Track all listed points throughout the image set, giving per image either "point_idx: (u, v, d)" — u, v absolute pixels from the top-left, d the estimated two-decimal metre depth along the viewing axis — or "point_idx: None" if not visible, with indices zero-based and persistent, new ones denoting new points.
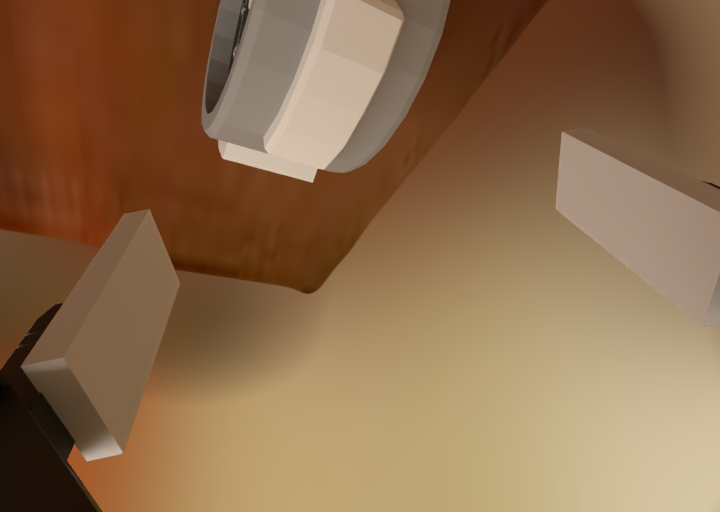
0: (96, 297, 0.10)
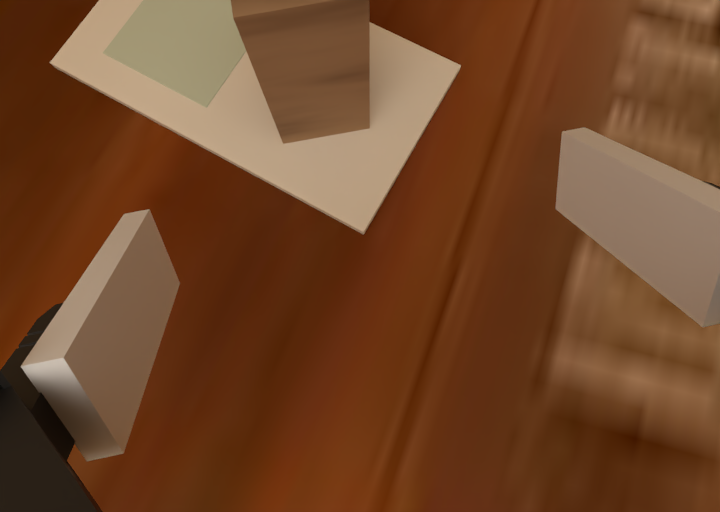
0: (96, 297, 0.10)
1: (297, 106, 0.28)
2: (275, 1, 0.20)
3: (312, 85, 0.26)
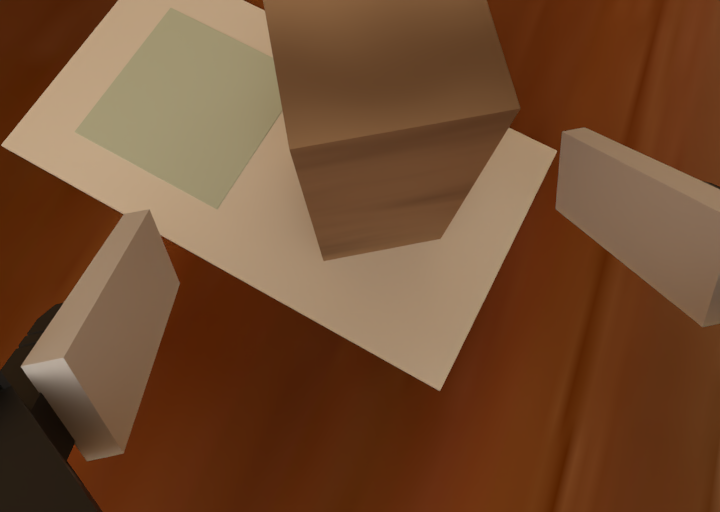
0: (96, 297, 0.10)
1: (355, 229, 0.19)
2: (361, 121, 0.12)
3: (385, 209, 0.18)
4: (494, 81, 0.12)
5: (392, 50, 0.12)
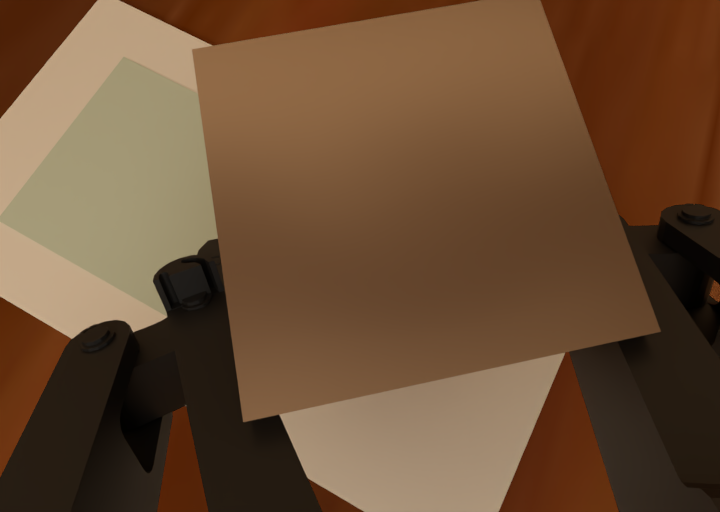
0: None
1: None
2: (375, 361, 0.07)
3: None
4: (610, 277, 0.07)
5: (426, 219, 0.07)
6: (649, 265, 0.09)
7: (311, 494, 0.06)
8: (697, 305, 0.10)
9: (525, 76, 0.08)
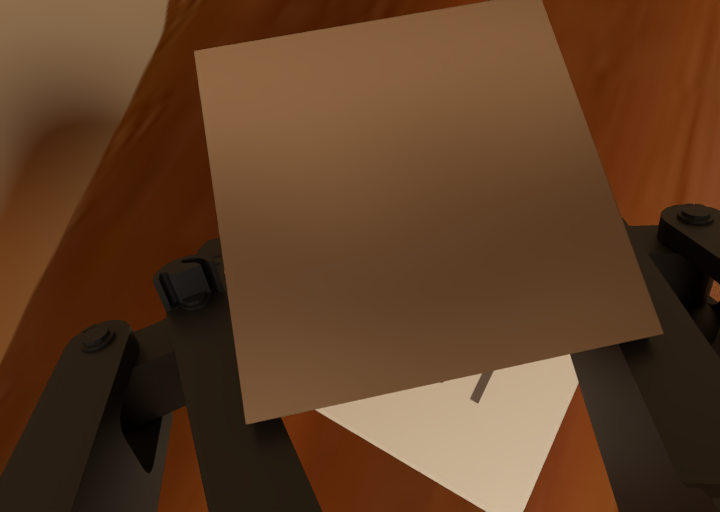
0: None
1: None
2: (377, 362, 0.07)
3: None
4: (612, 279, 0.07)
5: (429, 222, 0.07)
6: (649, 265, 0.09)
7: (311, 494, 0.06)
8: (697, 305, 0.10)
9: (528, 78, 0.08)
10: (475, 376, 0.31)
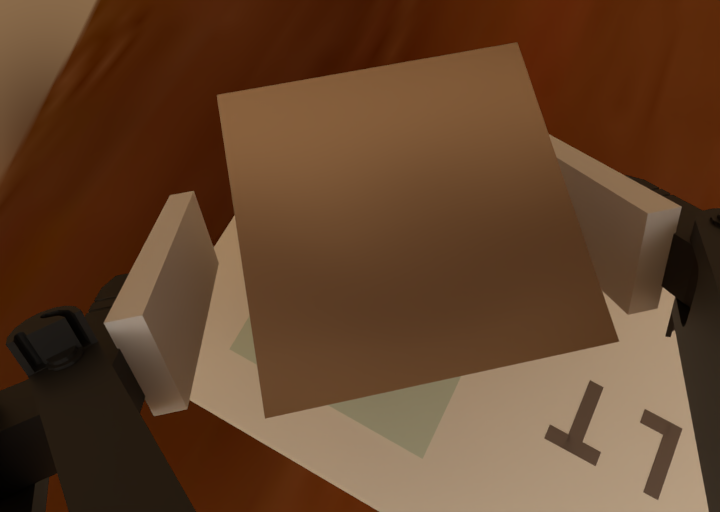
0: (161, 265, 0.11)
1: None
2: (376, 366, 0.08)
3: None
4: (576, 295, 0.08)
5: (420, 245, 0.08)
6: None
7: None
8: None
9: (506, 119, 0.09)
10: (648, 453, 0.19)
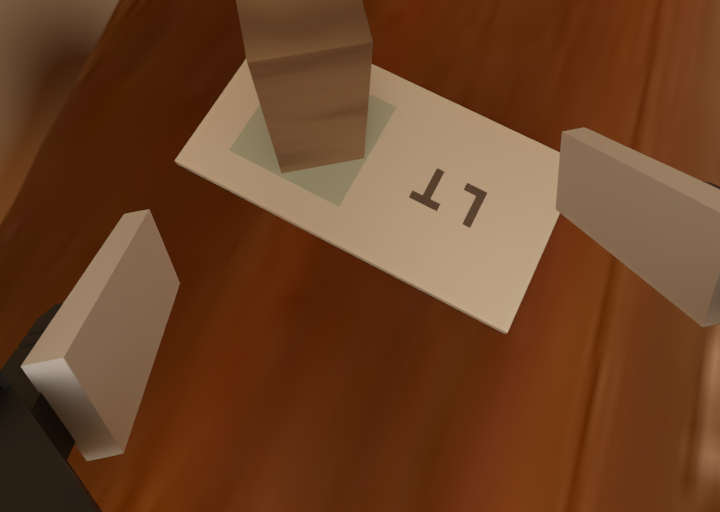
0: (96, 297, 0.10)
1: (298, 139, 0.29)
2: (286, 48, 0.22)
3: (314, 120, 0.28)
4: (360, 27, 0.22)
5: (304, 11, 0.23)
6: None
7: None
8: None
9: None
10: (467, 204, 0.33)
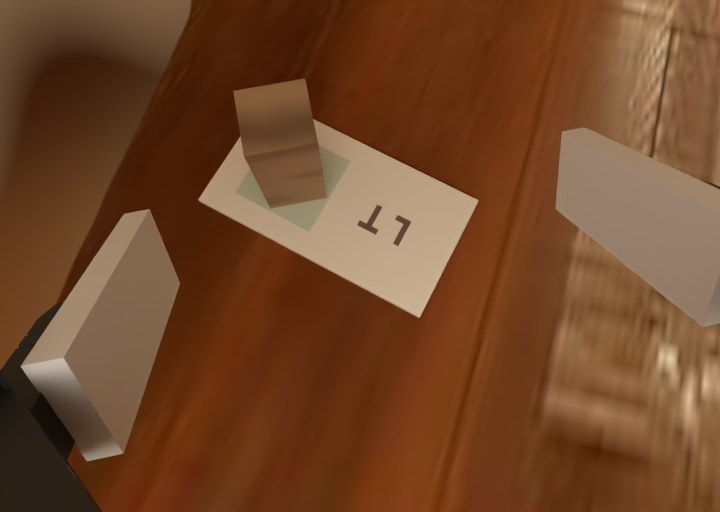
0: (96, 297, 0.10)
1: (279, 189, 0.45)
2: (266, 146, 0.37)
3: (288, 179, 0.43)
4: (310, 133, 0.38)
5: (277, 123, 0.38)
6: None
7: None
8: None
9: (300, 96, 0.39)
10: (396, 230, 0.48)
